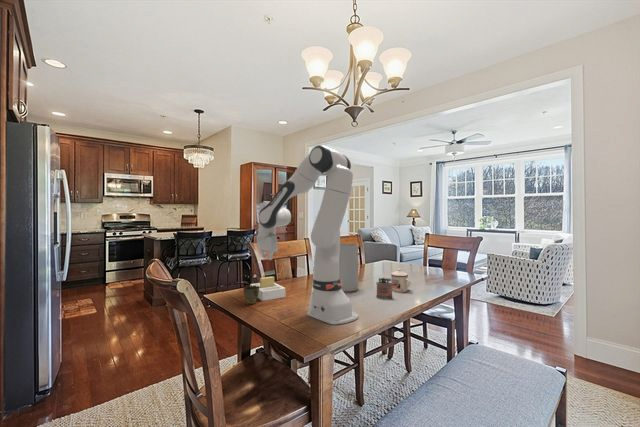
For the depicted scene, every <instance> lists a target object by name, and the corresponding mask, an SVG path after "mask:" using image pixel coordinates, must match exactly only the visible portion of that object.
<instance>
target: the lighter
mask: <svg viewBox="0 0 640 427" xmlns="http://www.w3.org/2000/svg"><path fill="white" fill-rule="evenodd" d="M375 297H376V298H378V299H384V300H385V299H387V300H392V299H393V290H392V283H391V278H388V277H386V278H385V277H384V276H383V277H378V281H376V296H375Z"/></svg>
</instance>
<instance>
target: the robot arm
mask: <svg viewBox="0 0 640 427" xmlns="http://www.w3.org/2000/svg"><path fill="white" fill-rule="evenodd" d="M351 165H352V164H351V160H350V159H349V158H348V157H347V156H346V155H344V154H342V153H340V152H339V151H338V150H336V149H333V148H331V147H328V146H326V145H320V144H319V145H316V146H314V147H313V148H312V149H311V150H310V152H309V154H307V155H306V156H305V157H304V159H303V160H302V161H301V162H300V164H299V165H298V166H297V168H296V169H295V171H294V173H293V174H292V175H291V177H289V179H287V181H285V182H284V183H283V184H282V185H281V186H280V188H279V189H278V191H276V193H275V194H274V195H273V197H272V198H271V200H270V201H269V200H268V201H263V202H261V203H260V204H259V206H258V215H257V216H258V218H257V219H258V221H259V223H258V229H256V231H255V235H256V245H257V248H258V249H259V250H261V254H262V256H261V257H262V258H263V259H266V258H267V260H269V261H272V260H273V255H274V253H275V252H276V253H277V252H278V251H279V250H278V249H279V246H278V245H279V243H278V237H277V236H276V235H277V234H276V232H277V229H276V228H279V227H285V226H288V225H289V224H290V223H291V220H292V213H291V211H290V210H289V209H288V208H286V207H284V206H285V204H286V203H287V202H288V201H289V199H291V198H293V197H295V196H299V195H302V194H305V193H308V192H309V191H310V190H311V189H313V187H314V186H315V184H316V183H317V182H318V180H319V178H320V176H321V175H322V174H326V175H327V180H326V181H327V182H326V185H325V189H324V193H323V196H322V200H321V204H320V208H319V210H318V212H317V215H316V217H315V220H314V224H313V225H312V226H313V227H312V230H311V233H310V240H311V242H312V244H313V245H314V247H315V250H314V256H313V257H314V258H313V279H312V292H311V294H310V298H309V299H310V300H309V301H310V302H309V310H308V311H307V316H309V317H311V318H314V319H317V320H319V321H321V322H325V323H327V324H329V325H340V324H346V323H350V322H353V321H356V320H357V319H359V315H358V314H357V313H356V312H354V310H353V304H352V301H351V298H348V296H347V295H346V293H345V292H344V291H343V290H342V289H341V288H342V286H343V285H341V284H343V283H341V282H340V279H339V253H340V244H341V226H342V224H343V221H344V217H345V214H346V210H347V208H348V207H347V206H348V203H349V199H350V196H351V192H352V187H353V177H354V174H353V172H352V170H351V169H352V168H351V167H352V166H351ZM267 252H268V256H267Z"/></svg>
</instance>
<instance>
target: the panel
mask: <svg viewBox="0 0 640 427" xmlns="http://www.w3.org/2000/svg"><path fill="white" fill-rule="evenodd" d="M259 283H260V288H267V287H273V286H274V283H275V276H266V277H264V276H263V277H260V278H259Z"/></svg>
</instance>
